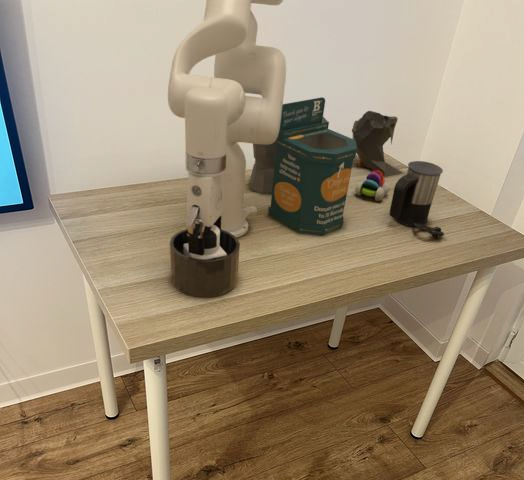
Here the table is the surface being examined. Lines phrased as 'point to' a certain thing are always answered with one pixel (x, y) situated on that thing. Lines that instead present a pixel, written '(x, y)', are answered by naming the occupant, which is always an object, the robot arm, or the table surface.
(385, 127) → the grey walrus sculpture
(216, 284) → the bucket
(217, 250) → the medicine bottle
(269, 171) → the coffeepot
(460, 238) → the table surface
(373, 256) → the table surface
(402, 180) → the milk frother
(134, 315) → the table surface
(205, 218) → the robot arm
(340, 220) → the donation box
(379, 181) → the rainbow caterpillar toy
